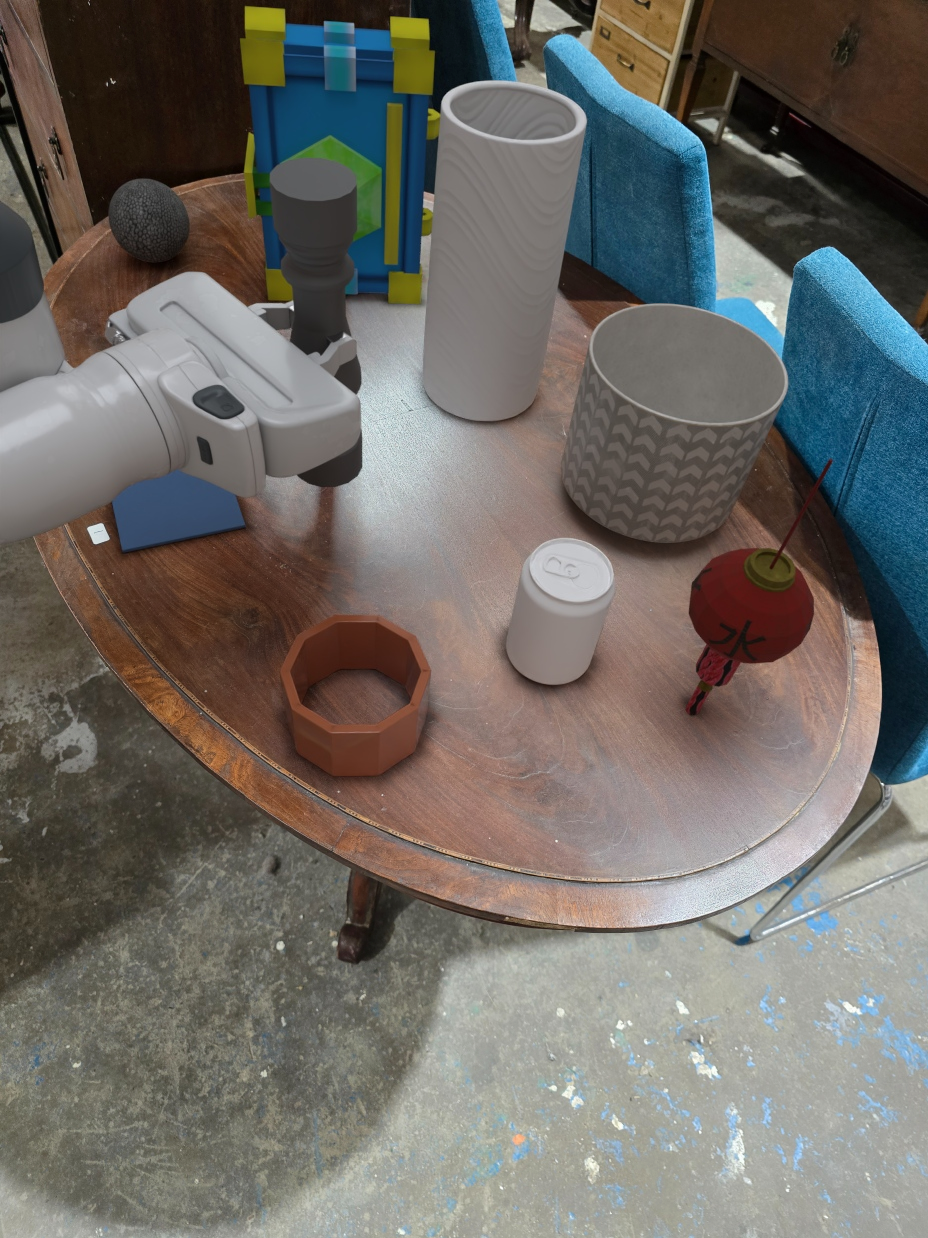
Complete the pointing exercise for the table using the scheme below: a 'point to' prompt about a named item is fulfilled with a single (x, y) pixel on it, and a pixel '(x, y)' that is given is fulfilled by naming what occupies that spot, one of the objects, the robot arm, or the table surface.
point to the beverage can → (559, 610)
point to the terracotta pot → (355, 648)
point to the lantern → (748, 610)
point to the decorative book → (345, 135)
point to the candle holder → (319, 273)
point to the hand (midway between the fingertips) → (330, 326)
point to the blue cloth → (173, 511)
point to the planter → (669, 420)
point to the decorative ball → (149, 220)
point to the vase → (497, 243)
